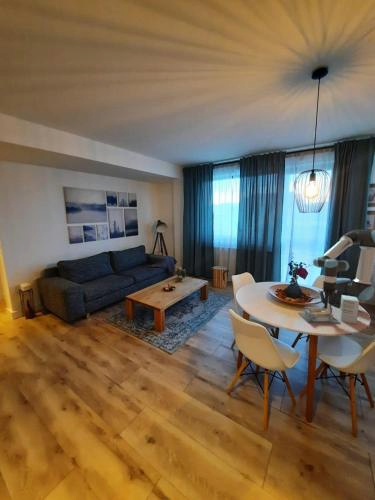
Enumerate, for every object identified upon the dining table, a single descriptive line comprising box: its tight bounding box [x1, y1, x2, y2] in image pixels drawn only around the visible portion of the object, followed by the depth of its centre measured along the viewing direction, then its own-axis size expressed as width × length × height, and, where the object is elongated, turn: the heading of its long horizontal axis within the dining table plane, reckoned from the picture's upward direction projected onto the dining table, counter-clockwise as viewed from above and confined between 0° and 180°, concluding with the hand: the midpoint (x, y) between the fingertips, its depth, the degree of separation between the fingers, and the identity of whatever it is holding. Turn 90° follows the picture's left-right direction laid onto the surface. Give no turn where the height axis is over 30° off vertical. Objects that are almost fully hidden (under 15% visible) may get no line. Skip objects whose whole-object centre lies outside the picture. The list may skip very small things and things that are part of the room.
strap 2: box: [312, 311, 331, 316], centre depth 149 cm, size 15×3×1 cm, turn 86°
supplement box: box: [339, 295, 360, 325], centre depth 150 cm, size 10×9×17 cm
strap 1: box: [306, 306, 325, 312], centre depth 157 cm, size 15×3×1 cm, turn 86°
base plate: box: [297, 305, 341, 324], centre depth 153 cm, size 22×15×7 cm
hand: (327, 312), depth 149 cm, fingers closed
